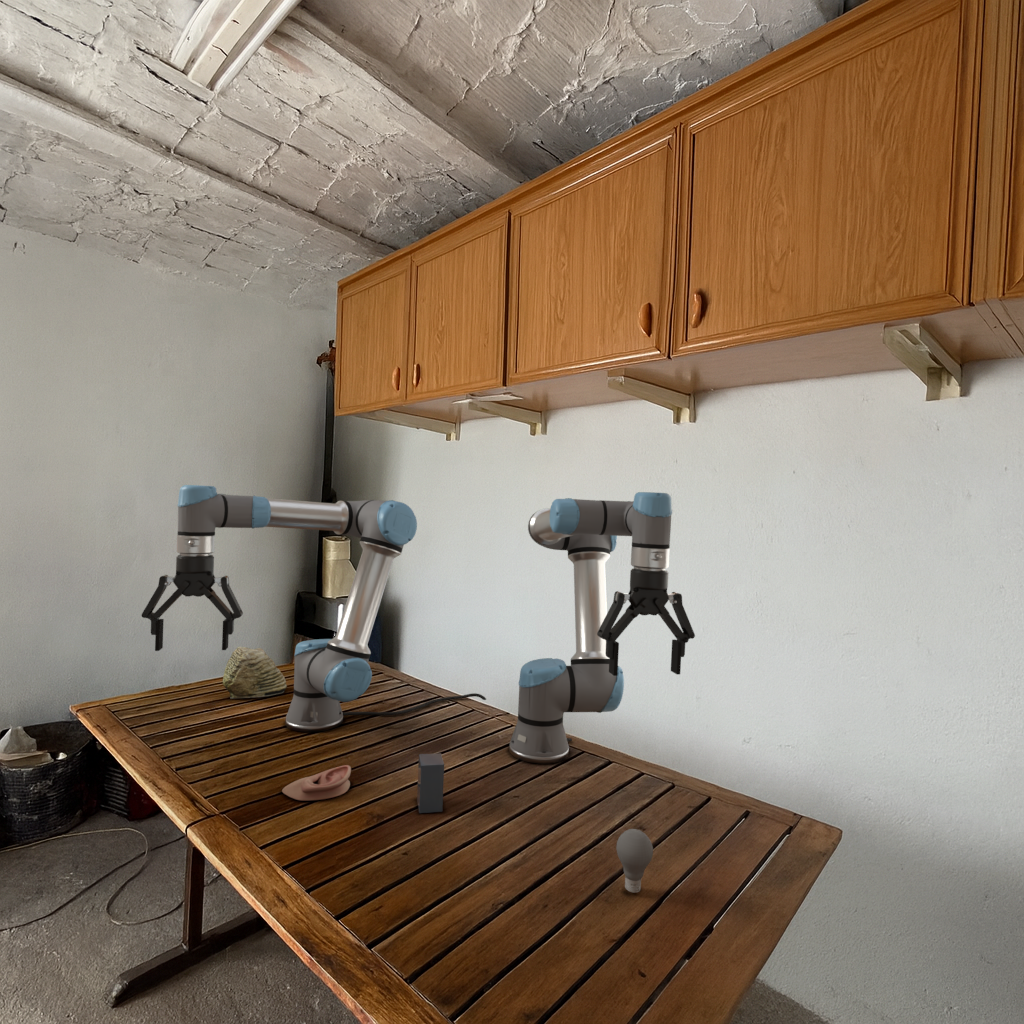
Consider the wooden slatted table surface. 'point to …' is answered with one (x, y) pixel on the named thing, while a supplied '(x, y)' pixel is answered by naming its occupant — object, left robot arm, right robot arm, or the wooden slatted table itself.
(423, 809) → the brick
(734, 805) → the wooden slatted table surface
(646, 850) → the light bulb
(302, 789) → the anatomical model
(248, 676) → the fossil
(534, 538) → the right robot arm
